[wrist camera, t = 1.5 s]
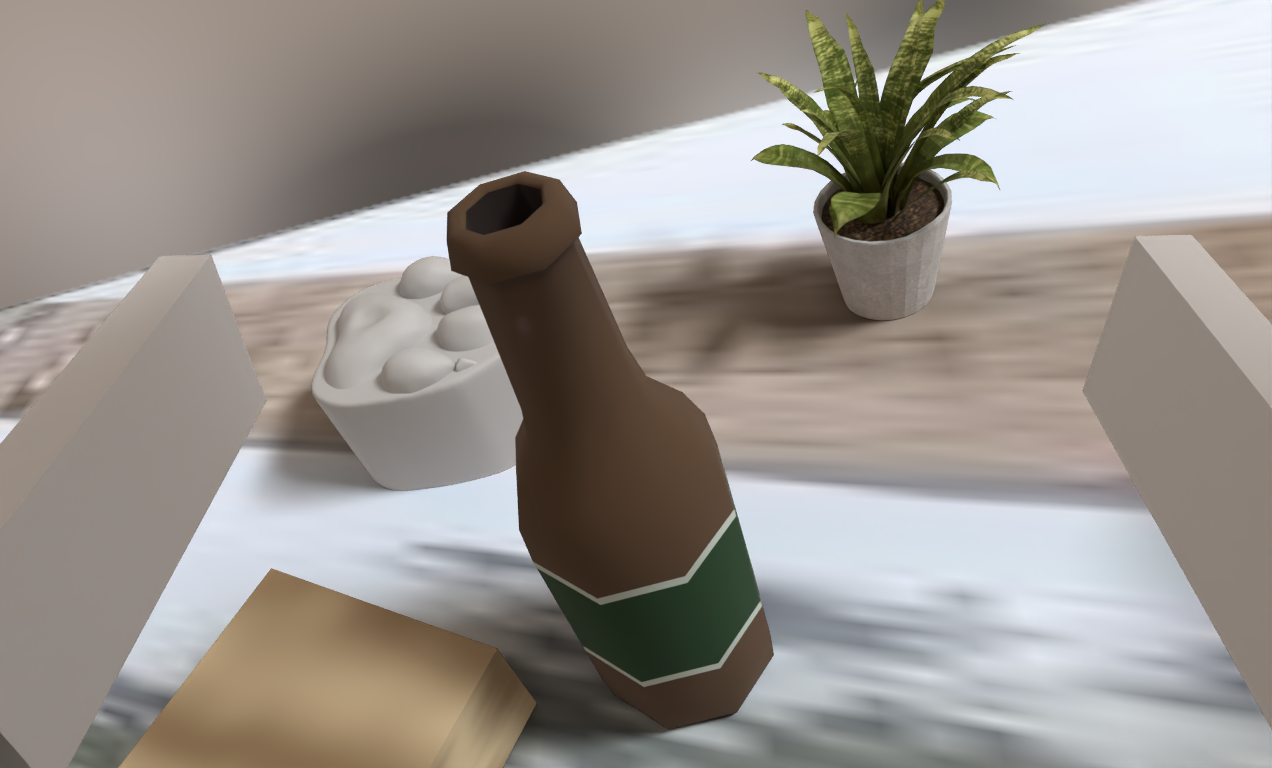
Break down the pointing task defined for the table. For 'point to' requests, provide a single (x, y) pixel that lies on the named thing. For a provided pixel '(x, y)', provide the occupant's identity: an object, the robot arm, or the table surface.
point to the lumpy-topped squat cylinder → (419, 381)
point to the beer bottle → (611, 468)
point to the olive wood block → (337, 691)
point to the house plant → (888, 161)
